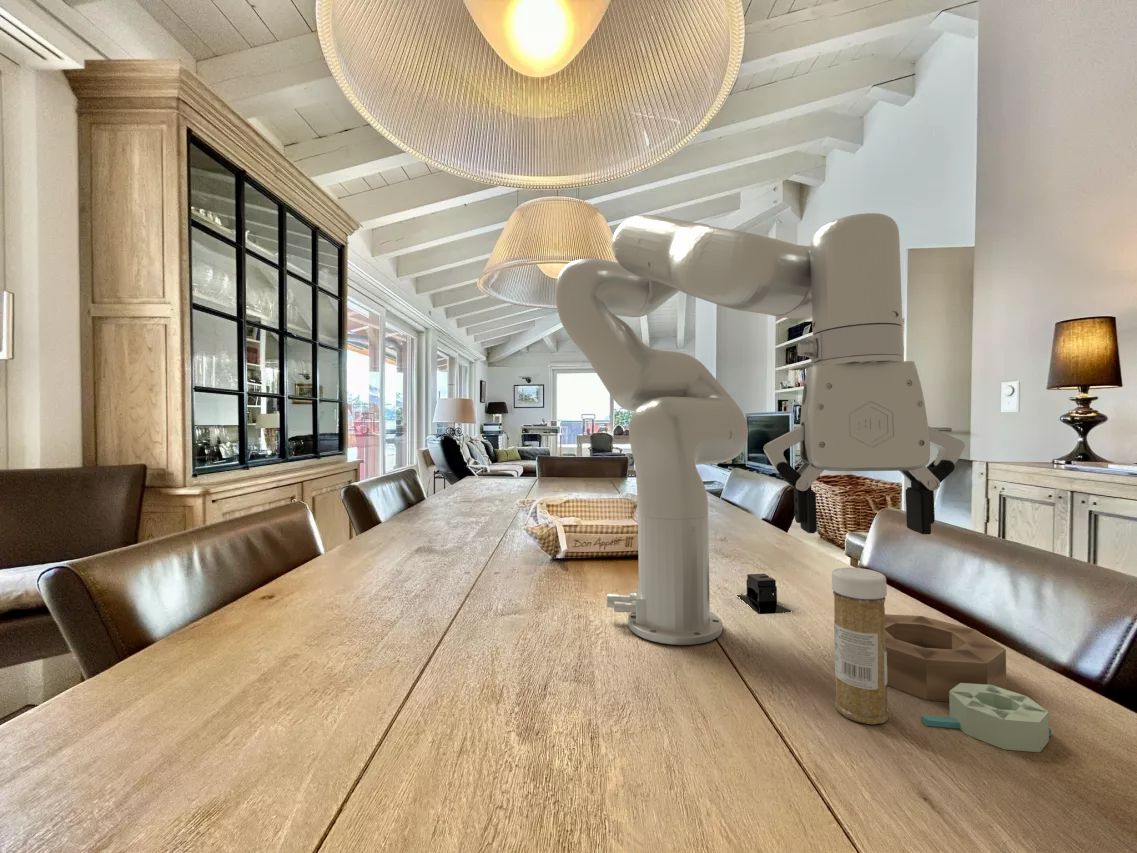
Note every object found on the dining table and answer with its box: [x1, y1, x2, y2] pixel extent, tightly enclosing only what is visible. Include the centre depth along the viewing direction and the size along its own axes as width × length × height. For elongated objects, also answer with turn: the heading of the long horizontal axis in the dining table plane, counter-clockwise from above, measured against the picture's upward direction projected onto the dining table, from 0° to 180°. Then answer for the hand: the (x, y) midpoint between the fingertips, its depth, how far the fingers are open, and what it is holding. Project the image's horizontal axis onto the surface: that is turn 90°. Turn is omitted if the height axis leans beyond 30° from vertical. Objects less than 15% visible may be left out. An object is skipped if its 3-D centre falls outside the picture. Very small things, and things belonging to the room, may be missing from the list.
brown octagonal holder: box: [885, 613, 1007, 703], centre depth 58 cm, size 13×13×4 cm
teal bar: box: [920, 714, 1053, 737], centre depth 47 cm, size 10×1×1 cm, turn 80°
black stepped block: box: [737, 573, 792, 615], centre depth 81 cm, size 12×7×5 cm, turn 6°
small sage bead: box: [949, 683, 1050, 753], centre depth 47 cm, size 6×6×2 cm
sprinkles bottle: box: [831, 567, 890, 725], centre depth 50 cm, size 5×5×14 cm
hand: (862, 531), depth 49 cm, fingers open, 9 cm apart
